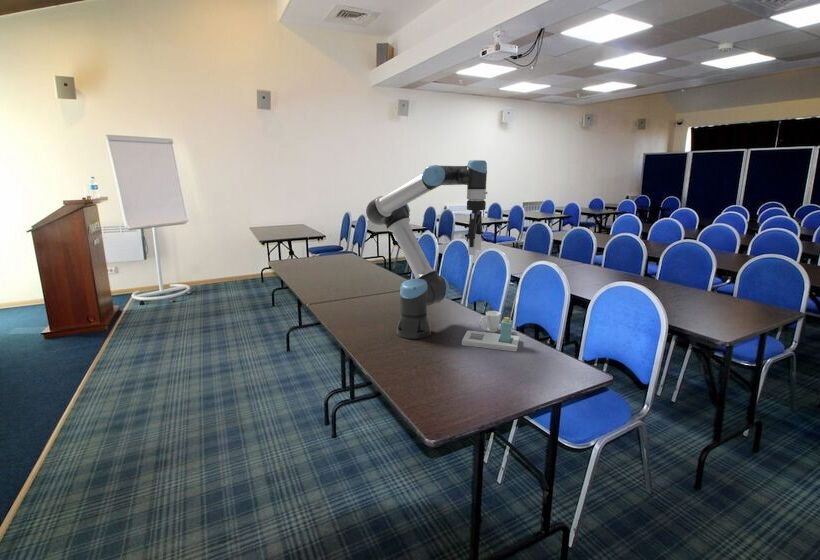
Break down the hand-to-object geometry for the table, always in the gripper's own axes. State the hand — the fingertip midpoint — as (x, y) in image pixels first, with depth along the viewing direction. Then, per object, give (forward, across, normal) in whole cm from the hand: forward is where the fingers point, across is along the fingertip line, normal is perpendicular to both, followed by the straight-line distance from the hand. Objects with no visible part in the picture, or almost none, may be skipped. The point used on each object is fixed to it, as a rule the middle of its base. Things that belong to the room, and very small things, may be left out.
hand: (474, 252), depth 173 cm
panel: (+37, -6, -9) cm, 38 cm away
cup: (+37, +8, -6) cm, 38 cm away
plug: (+37, -6, -15) cm, 40 cm away
